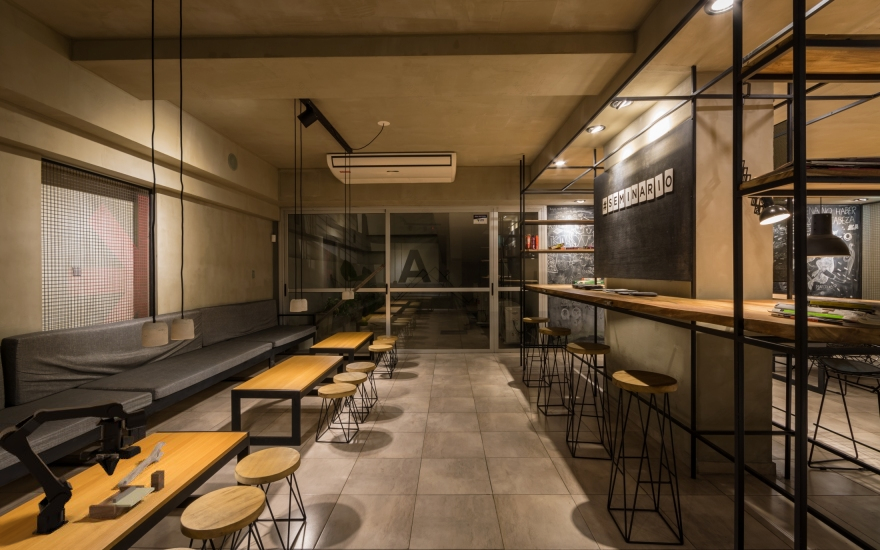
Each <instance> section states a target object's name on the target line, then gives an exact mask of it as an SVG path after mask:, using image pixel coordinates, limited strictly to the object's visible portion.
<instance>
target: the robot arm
mask: <svg viewBox="0 0 880 550" xmlns="http://www.w3.org/2000/svg"><path fill="white" fill-rule="evenodd" d="M83 418H99V419H98V420H96V421H95V422H94V425H95V426H96V427H100V426H101V435H100V437H101V438H100V439H98V441H97V443H100V444H101V445H100V446H98V445H96V446H95V445H94V446H90V447H89V448H87V449H84V450H82V451H81V453H80V455H79V460H80V461H88V460H89V459H90V458H91V456H96V459H95V463H98V464H99V466H100V467H101V468H102V469H103V470H104V472H105V473H106V474H107V476H109V477H111V476H113V474H114V473H115V471H116V468H117V465H118V464H119V462H120V460H131V459H132V458H134V457H135V456H138V455H139V454H141V453H142V447H141V446H140V445H133V443H134V439H135V436H126V435H125V434H124V433H122V429H126V431H130V430H135V429H138V428H139V429H140V428H143V427H146V426H147V420H148V419H147V416H146V410H145V409H144V408H142V409H138V410H134V411H131V412H128V411H126V410H124V406H123V404H122V403H121V402H120V401H118V399H108V400H103V401H98V402H95V403H92V404H88V405H76V406H67V407H55V408H40V409H38V410H36V411H34V413H33V414H31V415H29V416H27V417H25V418H23V419H22V420H20V421H19V422H17V423H16V424H14V425H13V426H9V427H6V428H4V429H3V430H2V431H1V432H0V447H1V449H3V450H4V451H6V452H7V453H8V454H11V455H12V456H14V457H16V458H17V459H18V461H20V462H21V464H22V466H24V467H25V469H27V471H28V472H29V474H31V476H32V477H33V478H34V479H35V480H36V482H37V483H38V484H39V485H40V487H41V488H42V490H43V492H44V495H45V496H44V497H43V498H42V499H41V500H40V501H38V503H37V507H38V509H39V513H38V514H37V516H36V529H35V530H33V531H32V532H31V534H32V535H43V534H44V535H45V534H53V533H54V532H55V531H58V529H60V528H62V527H63V526H65V525H66V524H68V523H69V519H66V504H67V503H68V502H69V501H70V500H71V499H72V497H73V493H72V490H73V489H74V488H73V486H72V483H71V482H70V481H68V480H67V479H66V477H65V475H63V476H62V477H60V478H59V477H57V476H56V475H55V474H54V473H53V472H52V471H51V470H50V468H49V467H48V465H46V463H45V462H44V461H43V460H42V458H40V456H39V455H38V454H37V452H36V451H35V450H34V449H33V447H32V446H31V444H30V441H29V439H28V437H30V435H32V434H33V433H34V432H35V431H36V430H37V429H39V427H41V426H42V425H43V424H45V423H49V422H57V421H63V420H64V421H65V420H66V421H67V420H73V419H74V420H75V419H83ZM122 427H123V428H122ZM128 445H130V446H128ZM127 446H128V447H127Z"/></svg>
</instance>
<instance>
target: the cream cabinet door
mask: <svg viewBox="0 0 880 550" xmlns="http://www.w3.org/2000/svg"><path fill="white" fill-rule="evenodd" d="M153 490H154V488H151V487H144V488H136V486H131V487H130V488H128V489H127V490H125V491H124V492H122V493H121V494H119V495H118V496H116V497H115V498H113V502H111V503H110V504H117V507H129V508H132V507H133V506H134V505H135V504H137V503H138V502H139V501H141V500H142V499H143V498H145V497H147V496H148V495H149V494H151V492H152V491H153ZM152 493H153V492H152ZM108 505H109V504H108Z"/></svg>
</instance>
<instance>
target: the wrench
mask: <svg viewBox="0 0 880 550" xmlns="http://www.w3.org/2000/svg"><path fill="white" fill-rule="evenodd" d="M166 445H167V443H166V442H165V441H159V442H157V443H156V444H155V446H154V448H153V449H152V451H151V453H150V454H149V455H148V456H147V457H146V458H145V459H144V460H143V461H141V462H140V463H139V464H138V465H137V466H136V467H135V468H133V469H132V470H131V471H129V473H128V474H127V475H126V476H124V477H123V478H122V479H120V480H119V482H118V484H117V488H118V489H120V486H122V485H130V483H131V482H132V481H133V480H134V479H135V478H137V476H139V475H140V474H141V473H142V472H143V471H144V470H145V469H146V468H147V467H148V466H149V465H151V464H152V463H153V462H154V463H158V462H160V460H161V458H162V457H163V455H164V453H165V452H164V451H161V450H162V448H163V446H166Z"/></svg>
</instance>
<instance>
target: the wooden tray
mask: <svg viewBox="0 0 880 550" xmlns="http://www.w3.org/2000/svg"><path fill="white" fill-rule="evenodd" d="M131 486H136V488H145V485H143V484H135V485H132V484H131V485H130V484H128V485H122V486H120V488H119V490H118V491H116V492H114V494H111V495H110V496H108V497H107V498H106V499H104V500H103V501H101V502H99V503H98V504H91V505H89V506H88V519H90V520H91V519H97V520H99V519H115V518H116V516H117V517H118V516H119V515H121V514H122V513H123V512H125V511H126V510H128V509H129V508H130V507H117V504H110V503H111V502H113V498H115V497H116V496H118V495H119V494H121V493H122V492H124V491H125V490H127V489H128V488H130V487H131ZM108 504H109V505H108ZM124 510H125V511H124ZM120 513H121V514H120Z"/></svg>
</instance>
